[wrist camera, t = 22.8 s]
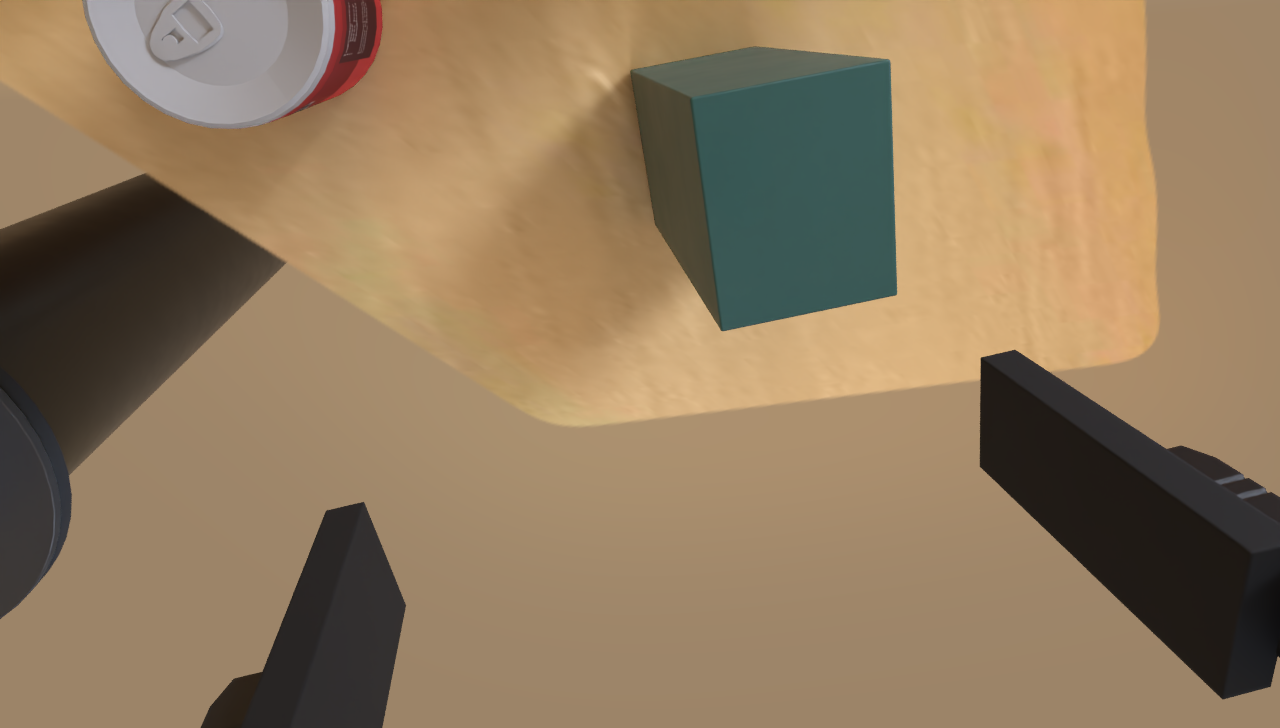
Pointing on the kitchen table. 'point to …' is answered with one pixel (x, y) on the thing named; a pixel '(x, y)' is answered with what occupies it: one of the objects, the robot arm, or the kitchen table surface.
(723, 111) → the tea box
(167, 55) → the canned food
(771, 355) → the kitchen table surface
